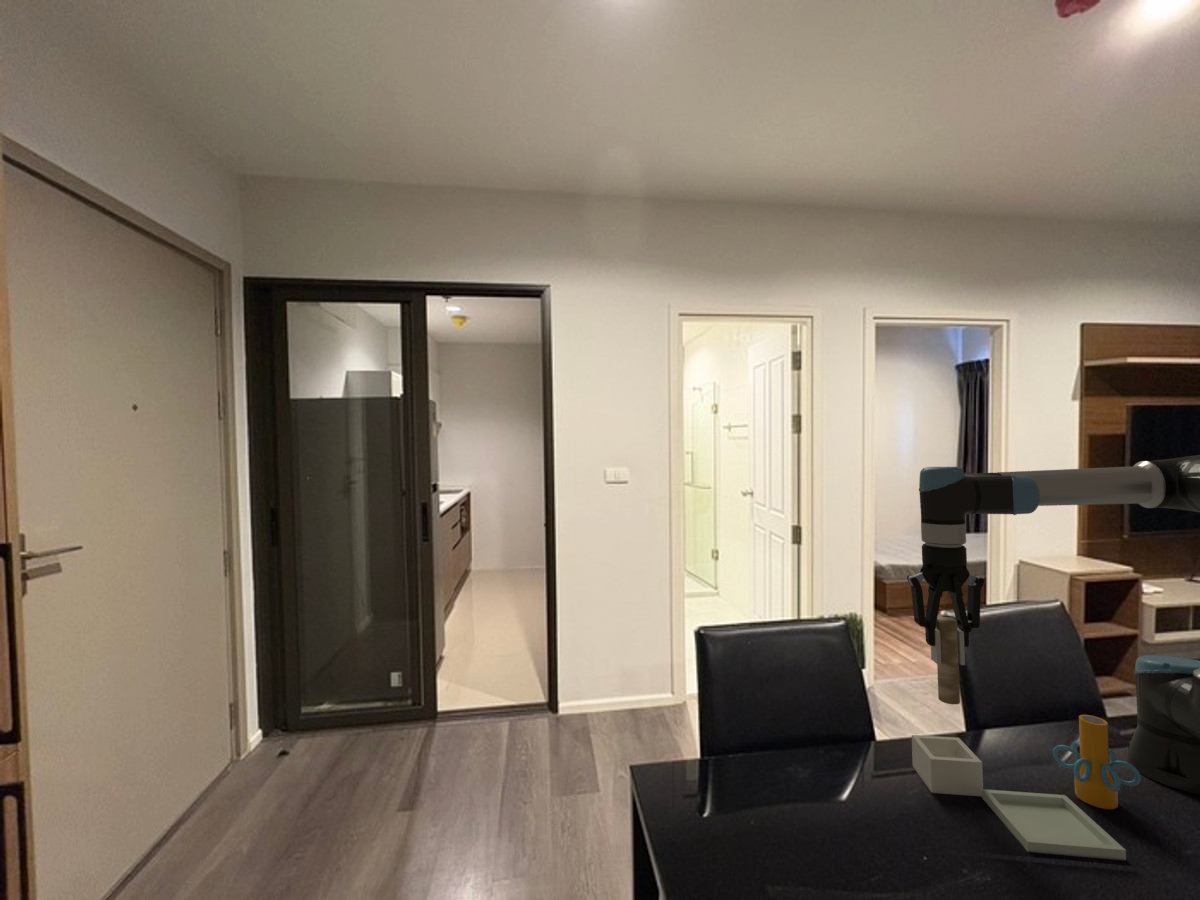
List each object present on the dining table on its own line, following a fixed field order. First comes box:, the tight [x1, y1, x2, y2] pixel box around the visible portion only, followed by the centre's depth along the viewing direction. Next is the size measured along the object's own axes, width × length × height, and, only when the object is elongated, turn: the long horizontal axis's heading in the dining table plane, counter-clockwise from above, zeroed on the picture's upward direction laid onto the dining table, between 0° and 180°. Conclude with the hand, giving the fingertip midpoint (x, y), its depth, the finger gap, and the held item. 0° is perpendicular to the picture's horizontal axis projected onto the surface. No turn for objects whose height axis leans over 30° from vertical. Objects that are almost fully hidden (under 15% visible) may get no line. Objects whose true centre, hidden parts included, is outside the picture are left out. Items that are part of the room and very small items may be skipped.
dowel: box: [936, 616, 961, 705], centre depth 107 cm, size 4×4×16 cm
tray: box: [981, 788, 1127, 862], centre depth 93 cm, size 14×14×2 cm
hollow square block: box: [911, 734, 984, 797], centre depth 107 cm, size 9×9×7 cm
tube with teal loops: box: [1052, 714, 1142, 810], centre depth 101 cm, size 12×10×15 cm
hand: (947, 661), depth 107 cm, fingers closed on dowel, 3 cm apart
